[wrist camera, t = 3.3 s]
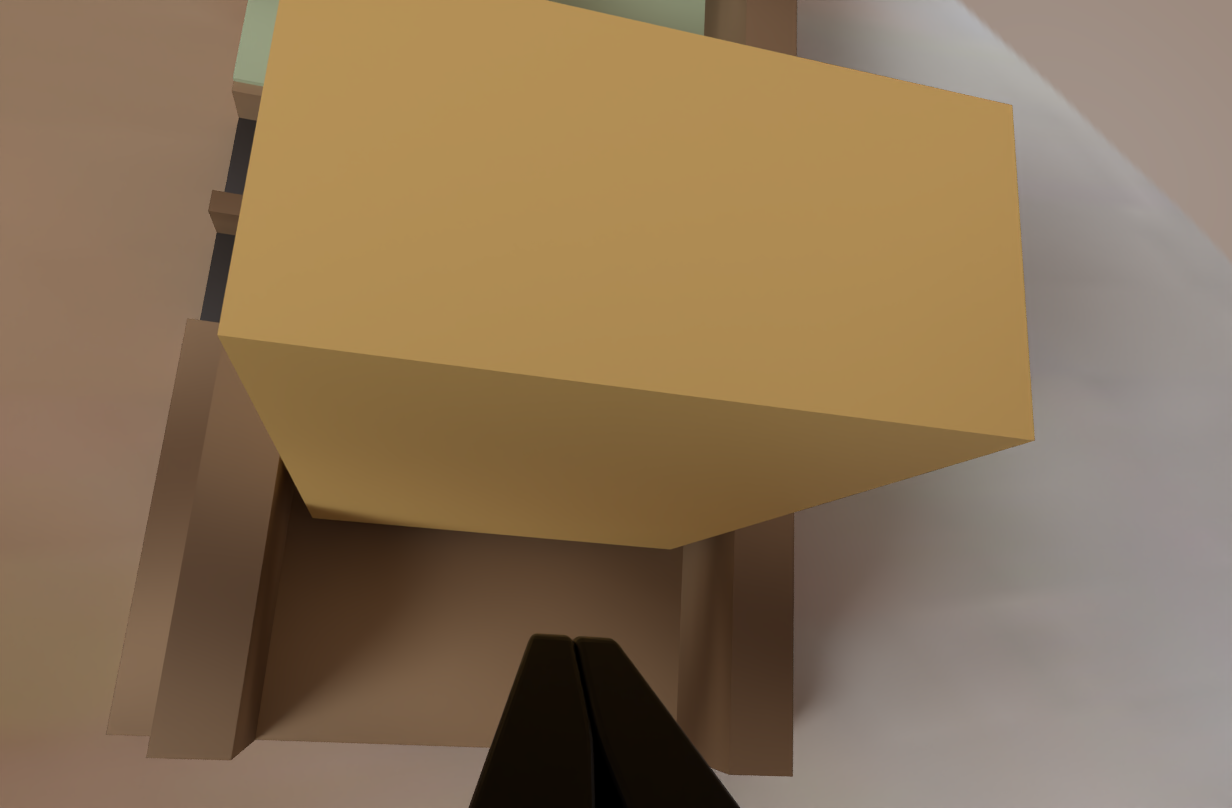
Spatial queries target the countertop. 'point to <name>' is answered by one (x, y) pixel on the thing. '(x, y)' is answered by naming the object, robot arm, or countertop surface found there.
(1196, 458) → the countertop surface
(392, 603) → the board
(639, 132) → the block
